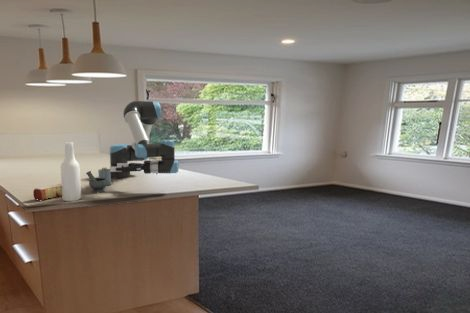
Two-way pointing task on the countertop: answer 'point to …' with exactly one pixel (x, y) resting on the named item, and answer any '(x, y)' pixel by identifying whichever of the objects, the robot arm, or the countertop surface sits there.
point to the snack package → (48, 192)
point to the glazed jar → (105, 175)
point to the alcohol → (70, 175)
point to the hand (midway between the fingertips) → (113, 167)
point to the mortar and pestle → (96, 183)
